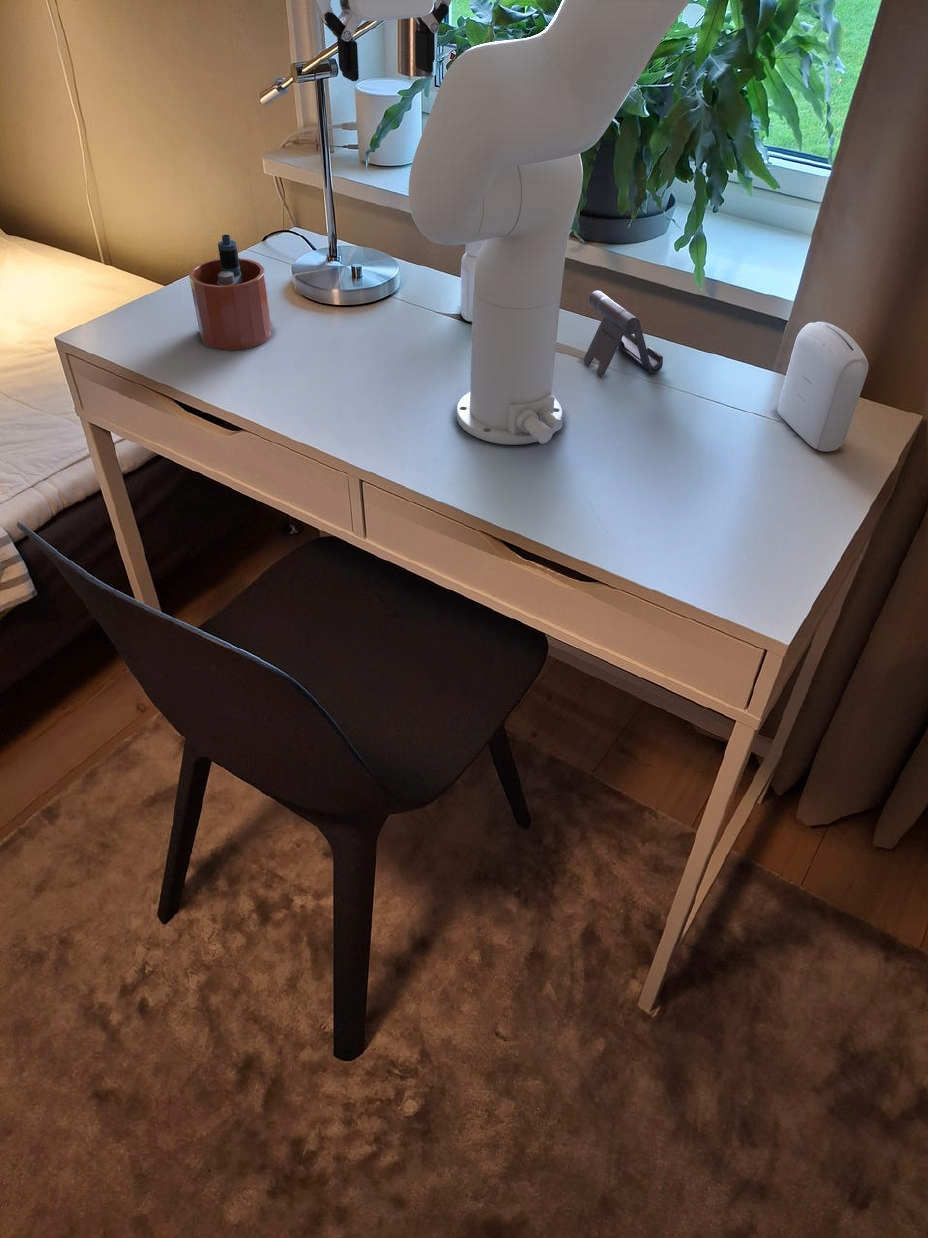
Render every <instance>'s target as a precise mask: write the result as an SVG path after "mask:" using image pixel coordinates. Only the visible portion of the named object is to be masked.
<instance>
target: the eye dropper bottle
mask: <svg viewBox="0 0 928 1238" xmlns="http://www.w3.org/2000/svg"><path fill="white" fill-rule="evenodd" d="M484 241H485V240H482V241H477V242H472V243H467V244H465V248H464V249H465V251H464V252H465V253H464V254H463V255H462V257H461V261H460V262H461V263H460V304H459V305H460V306H459V307H460V309H459V310H460V311H459V312H460V315H461V317H462V318H463V319H464V320H465V321H467V322H472V311H473V284H474V271H475V265H476V261H477V258H478V255H479V252H480V250H481V247H482V245H483V243H484Z"/></svg>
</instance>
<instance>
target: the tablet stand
mask: <svg viewBox="0 0 928 1238" xmlns="http://www.w3.org/2000/svg"><path fill="white" fill-rule="evenodd" d="M588 305H589V306H590V307H591V308H592V309H594V310H595V311H596V312H598V314H600V315H602V319H601V321H600V323H599V325H598V327H597V330H596V332H595V334H594V336H593V338H592V340H591V342H590V345H589V347H588V348H587V351H586V353H585V355H584V357H583V362H584V363H585V364H586V365H587V366H590V365H591V364H592V362H593V360H594V359H595V360H597V361H598V363H599V364H598V366H597V369H596V371H595V372H596V374H597V375H599V376H601V377H604V375H605V373H606V372H607V370H608V368H609V366H610V364H611V361H612V359H613V357H614V356H615V354H616V351H617V349H618V348H619V349H620V350H622V351H623V352H625V353H626V354H628V355H629V357H631V358H633V360H635V361H636V362H637V363H639V364H640V365H641V366H642V367H643V368H644V369H645V370H647V371H648V372H650V373H652V374H657V373H658V372H660V371H661V370H662V369H663V365H664V356H663V355H662V354H661V353H659V352H658V351H656V350H655V349H653V348H652V347H651V346H647V344H646V340H645V337H644V332H643V329H642V325H641V321H640V319H639V318H637V316H635V315H634V314H632V313H631V312H630V311H628V310H627V309H626V308H624V307H622V306H621V305H620V304H619V303H617V302H616V301H615V300H613V299H612V298H610V297H609V296H608V295H606V294H605V293H603V292H602V291H601V290H595V291H593V292H591V294H590V295H589V297H588Z"/></svg>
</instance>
